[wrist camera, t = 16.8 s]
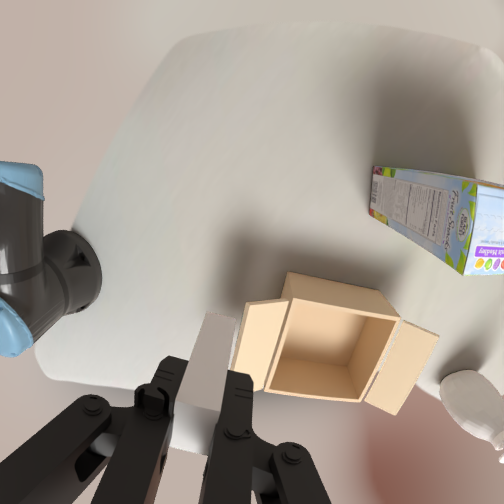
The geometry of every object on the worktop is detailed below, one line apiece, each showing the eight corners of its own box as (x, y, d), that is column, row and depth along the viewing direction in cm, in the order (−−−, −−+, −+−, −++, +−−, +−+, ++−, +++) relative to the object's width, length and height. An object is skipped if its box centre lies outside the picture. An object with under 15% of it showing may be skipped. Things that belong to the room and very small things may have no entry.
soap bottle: (485, 355, 53) (548, 427, 27) (474, 382, 55) (528, 456, 29) (437, 365, 54) (498, 454, 28) (427, 394, 56) (476, 482, 30)
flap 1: (261, 389, 43) (258, 384, 44) (288, 301, 39) (284, 297, 40) (226, 398, 40) (223, 393, 41) (249, 305, 36) (245, 301, 36)
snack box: (367, 220, 46) (459, 280, 21) (370, 164, 44) (473, 173, 19) (472, 228, 46) (575, 276, 21) (477, 180, 43) (587, 204, 18)
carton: (264, 354, 53) (264, 391, 44) (287, 271, 49) (293, 297, 39) (347, 367, 54) (360, 402, 44) (378, 290, 49) (401, 317, 40)
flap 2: (395, 415, 41) (396, 412, 41) (438, 337, 36) (439, 334, 37) (364, 400, 44) (366, 397, 45) (402, 321, 40) (404, 319, 40)
